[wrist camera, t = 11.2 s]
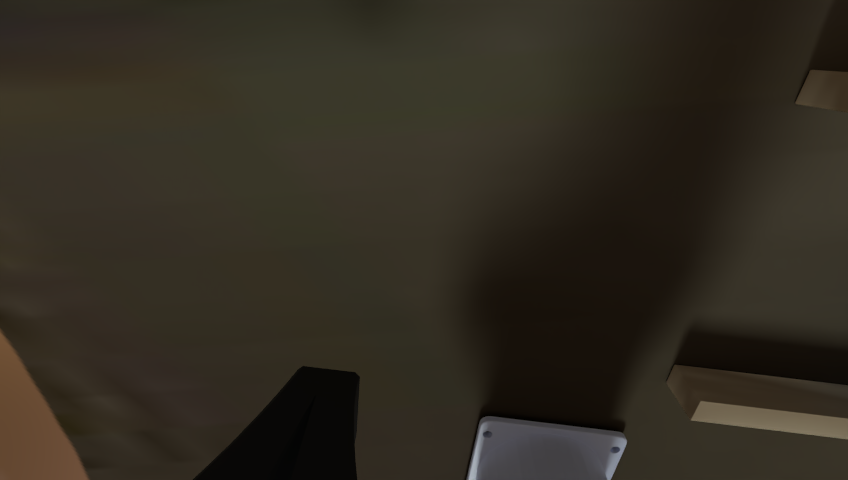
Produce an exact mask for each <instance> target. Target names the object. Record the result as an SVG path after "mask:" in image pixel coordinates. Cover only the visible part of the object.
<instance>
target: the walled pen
mask: <svg viewBox="0 0 848 480" xmlns="http://www.w3.org/2000/svg"><path fill="white" fill-rule="evenodd" d="M795 104H799V105H805V106H811V107H817V108H823V109H829V110H835V111H841V112H847V113H848V72H839V71H824V70H810V72H809V74H808V76H807V79H806V81H805V83H804V85H803V87H802V89H801V92H800V94H799V96H798V98H797V100H796V102H795ZM666 383H667V385H668V386H669V388H670V389H671V391H672V392H673V394H674V395H675V397H676V399H677V400H678V402H679V403H680V405H681V406H682V408H683V409H684V411H685V412H686V414H687V415H688V417H689V418H690V420H693V421H701V422H709V423H718V424H726V425H734V426H743V427H751V428H759V429H768V430H776V431H784V432H793V433H801V434H809V435H818V436H826V437H834V438H843V439H848V385H841V384H833V383H825V382H816V381H808V380H800V379H792V378H783V377H775V376H767V375H758V374H750V373H742V372H733V371H725V370H717V369H708V368H700V367H692V366H683V365H675V364H674V367H673V369H672V371H671V373H670V375H669V377H668V380H667V382H666Z"/></svg>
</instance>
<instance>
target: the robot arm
mask: <svg viewBox="0 0 848 480" xmlns="http://www.w3.org/2000/svg"><path fill="white" fill-rule="evenodd" d="M359 381H360V377H359V376H358V375H357V374H356V373H355V372H347V371H339V370H331V369H322V368H314V367H306V366H302V367H301V368H300V369H298V370H297V371H296V373H295V374H294V375H293V376H292V377H291V379H290V380H289V381H288V382H287V383H286V385H285V386H284V387H283V388H282V389H281V390H280V392H279V393H278V394H277V395H276V396H275V397H274V398H273V399H272V401H271V402H270V403H269V404H268V405H267V406H266V407H265V408H264V409H263V411H262V412H261V413H260V414H259V415H258V416H257V417H256V418H255V419H254V420H253V421H252V422H251V423H250V424H249V425H248V426H247V427H246V428H245V429H244V430H243V431H242V433H241V434H240V435H239V436H238V437H237V438H236V439H235V440H234V441H233V442H232V443H231V444H230V445H229V446H228V447H227V448H226V449H225V450H224V451H223V452H222V453H220V454H219V455H218V456H217V457H216V458H215V459H214V460H213V461H212V462H211V463H210V464H209V465H208V466H207V467H206V468H205V469H204V470H203V471H202V472H201V473H199V474H198V475H197V476H196V477H195V478H194V479H193V480H357V474H356V463H355V446H354V444H355V438H356V432H357V415H358V398H359ZM485 431H489V432H485ZM626 444H627V440H626V438H625V436H624V434H623V433H622V432H618V431H610V430H601V429H593V428H585V427H576V426H568V425H560V424H551V423H543V422H535V421H526V420H518V419H510V418H501V417H493V416H486V417H483V418H482V419H481V420H480V422H479V426H478V431H477V435H476V440H475V444H474V448H473V453H472V457H471V461H470V466H469V470H468V475H467V479H466V480H611V478H612V476H613V473H614V471H615V469H616V467H617V464H618V462H619V460H620V458H621V455H622V453H623V451H624V449H625V447H626Z"/></svg>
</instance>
